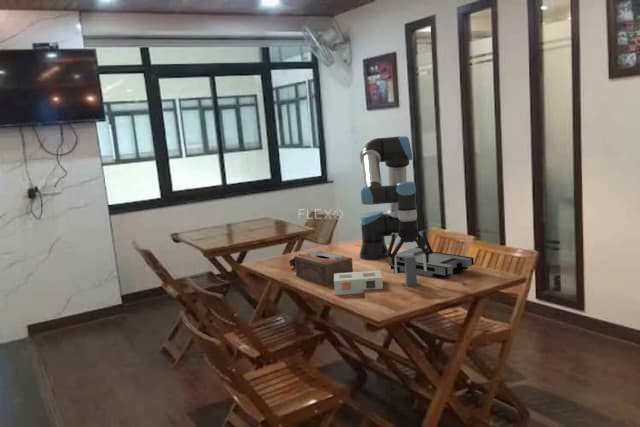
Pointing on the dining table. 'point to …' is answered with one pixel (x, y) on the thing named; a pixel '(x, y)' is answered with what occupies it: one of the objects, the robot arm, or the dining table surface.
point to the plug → (410, 270)
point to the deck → (411, 286)
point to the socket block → (357, 282)
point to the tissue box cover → (322, 266)
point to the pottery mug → (293, 262)
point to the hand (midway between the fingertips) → (410, 271)
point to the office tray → (433, 263)
